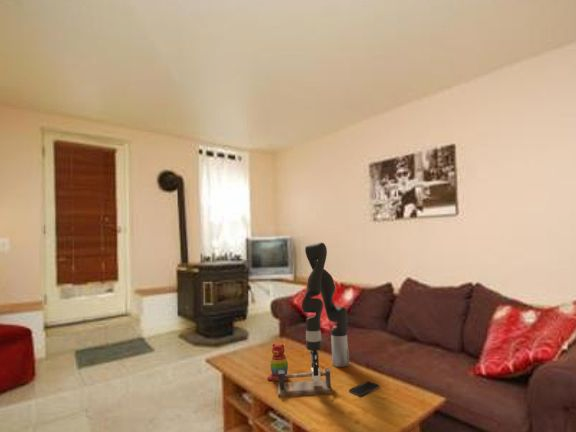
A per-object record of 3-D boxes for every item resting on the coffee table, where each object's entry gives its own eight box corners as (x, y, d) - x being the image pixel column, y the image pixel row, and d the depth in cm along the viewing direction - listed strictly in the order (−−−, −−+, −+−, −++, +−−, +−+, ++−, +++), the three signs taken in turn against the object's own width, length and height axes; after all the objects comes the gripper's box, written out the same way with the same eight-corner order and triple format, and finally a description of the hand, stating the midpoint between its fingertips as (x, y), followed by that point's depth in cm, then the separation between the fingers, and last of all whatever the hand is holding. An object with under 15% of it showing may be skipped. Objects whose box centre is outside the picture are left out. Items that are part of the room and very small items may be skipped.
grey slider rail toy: (328, 382, 179) (327, 364, 180) (332, 393, 167) (331, 373, 168) (277, 386, 178) (277, 367, 178) (278, 397, 166) (277, 377, 166)
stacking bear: (266, 380, 186) (264, 346, 187) (274, 373, 195) (273, 340, 196) (284, 383, 181) (282, 348, 182) (292, 375, 190) (290, 342, 191)
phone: (347, 390, 168) (367, 380, 178) (348, 392, 168) (367, 383, 178) (360, 395, 162) (380, 385, 172) (360, 398, 162) (380, 387, 172)
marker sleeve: (319, 377, 176) (318, 367, 176) (320, 381, 171) (320, 371, 171) (311, 377, 176) (310, 367, 176) (312, 381, 171) (312, 371, 171)
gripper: (323, 342, 167) (324, 377, 166) (319, 334, 181) (320, 366, 181) (307, 343, 167) (308, 378, 166) (304, 335, 181) (306, 367, 180)
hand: (314, 372), depth 173 cm, fingers open, 8 cm apart
